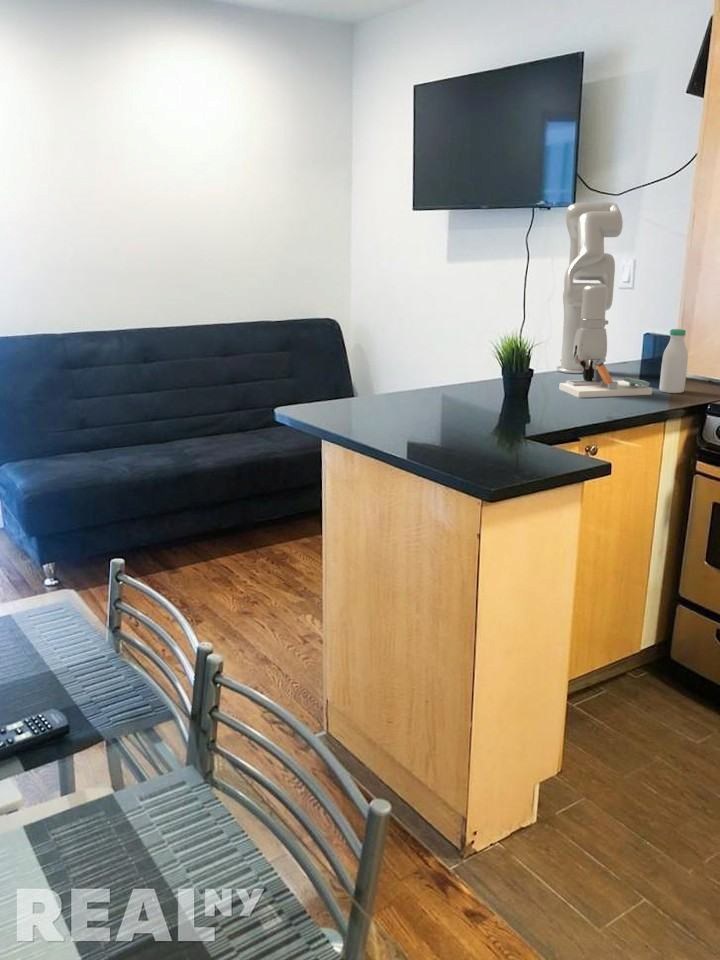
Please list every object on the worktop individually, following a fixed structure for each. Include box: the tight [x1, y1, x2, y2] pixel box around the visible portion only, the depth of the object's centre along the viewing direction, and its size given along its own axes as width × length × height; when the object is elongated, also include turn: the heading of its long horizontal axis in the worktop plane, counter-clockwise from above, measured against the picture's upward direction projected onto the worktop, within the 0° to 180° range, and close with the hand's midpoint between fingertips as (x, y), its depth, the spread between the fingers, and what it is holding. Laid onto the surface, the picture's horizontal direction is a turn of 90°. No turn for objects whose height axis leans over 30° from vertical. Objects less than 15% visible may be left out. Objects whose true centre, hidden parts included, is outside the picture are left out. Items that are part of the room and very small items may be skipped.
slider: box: [593, 368, 603, 382], centre depth 269 cm, size 3×3×5 cm
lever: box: [594, 360, 613, 385], centre depth 260 cm, size 4×2×8 cm
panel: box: [558, 379, 653, 399], centre depth 265 cm, size 15×25×4 cm, turn 100°
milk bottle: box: [658, 328, 689, 394], centre depth 263 cm, size 8×8×20 cm
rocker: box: [623, 376, 651, 387], centre depth 262 cm, size 6×7×1 cm
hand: (588, 380), depth 268 cm, fingers closed
